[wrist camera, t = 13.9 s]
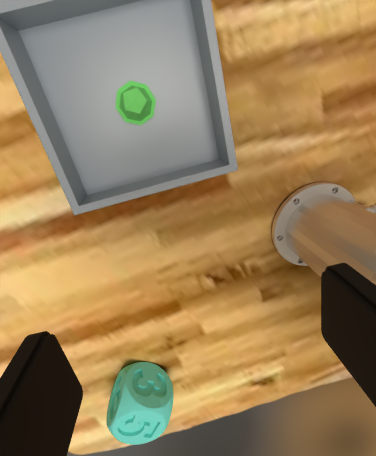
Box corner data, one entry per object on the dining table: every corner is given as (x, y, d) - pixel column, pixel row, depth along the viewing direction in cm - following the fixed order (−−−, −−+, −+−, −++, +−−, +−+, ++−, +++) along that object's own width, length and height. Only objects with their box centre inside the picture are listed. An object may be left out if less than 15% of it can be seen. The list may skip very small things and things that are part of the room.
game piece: (110, 85, 27) (101, 77, 22) (150, 77, 27) (152, 67, 22) (121, 129, 29) (116, 131, 23) (160, 121, 29) (163, 122, 24)
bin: (192, -20, 26) (203, -50, 21) (225, 162, 33) (237, 170, 28) (9, 25, 25) (-21, 4, 20) (84, 201, 32) (74, 215, 28)
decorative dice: (153, 397, 48) (154, 448, 40) (109, 389, 45) (102, 442, 38) (171, 366, 45) (176, 413, 38) (126, 356, 43) (122, 405, 36)
